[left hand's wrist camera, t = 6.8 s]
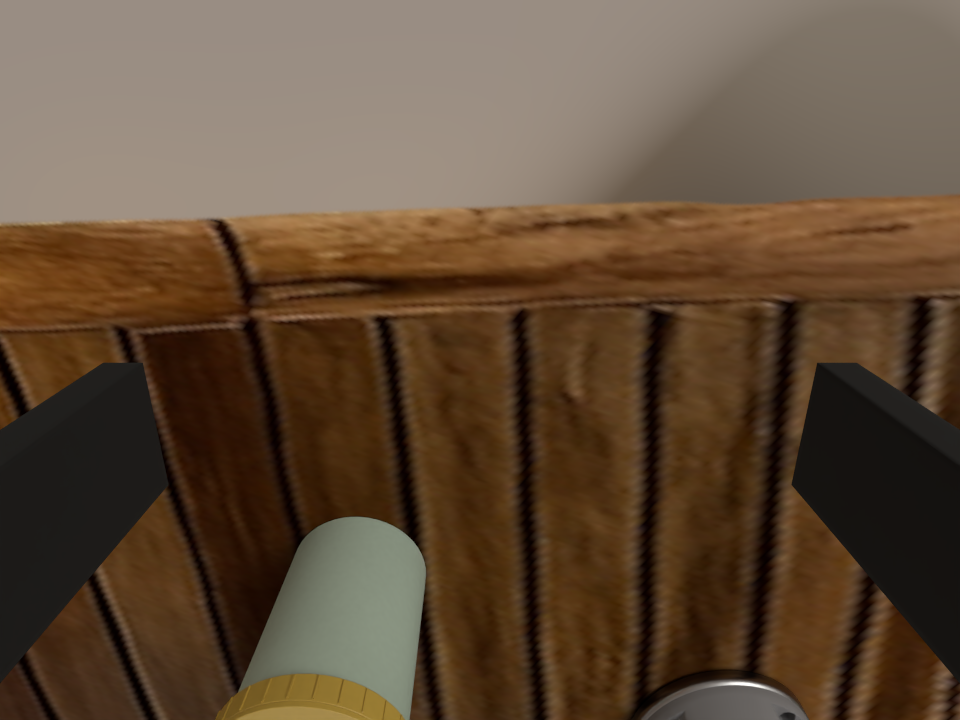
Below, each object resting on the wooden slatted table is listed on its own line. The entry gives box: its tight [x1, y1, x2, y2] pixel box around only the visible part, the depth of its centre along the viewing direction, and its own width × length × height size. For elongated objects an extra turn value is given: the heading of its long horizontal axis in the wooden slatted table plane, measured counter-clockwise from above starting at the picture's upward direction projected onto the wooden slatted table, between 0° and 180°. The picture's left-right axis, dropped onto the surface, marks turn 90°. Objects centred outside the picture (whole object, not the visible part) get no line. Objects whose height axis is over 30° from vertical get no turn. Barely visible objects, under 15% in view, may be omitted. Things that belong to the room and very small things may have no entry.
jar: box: [238, 517, 426, 720], centre depth 40 cm, size 10×10×16 cm
